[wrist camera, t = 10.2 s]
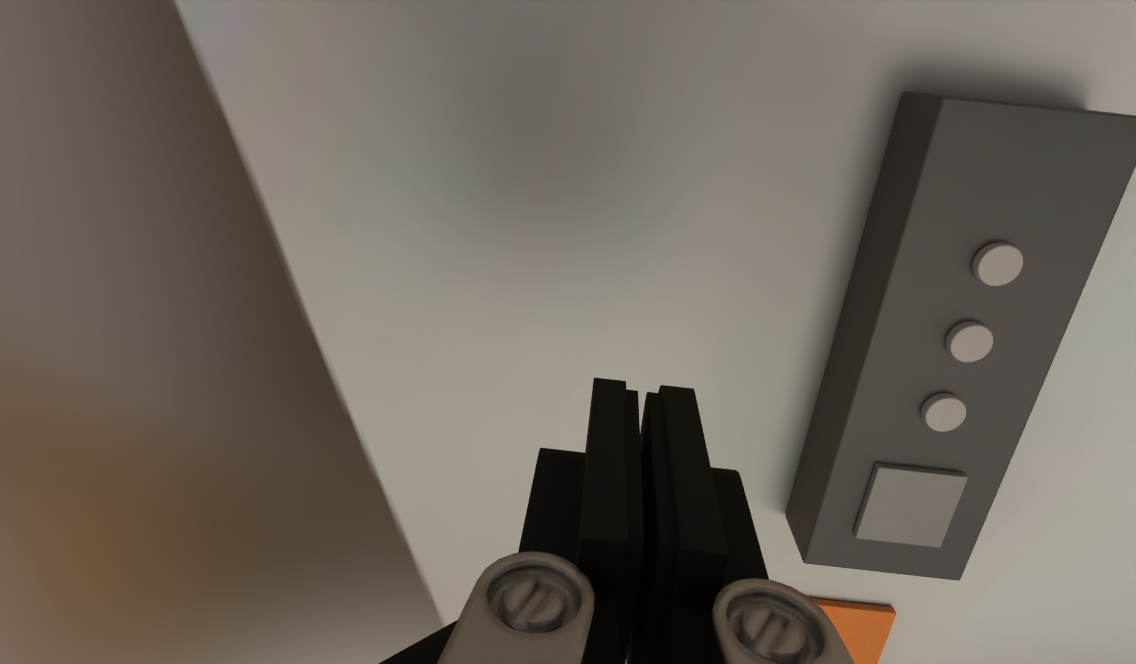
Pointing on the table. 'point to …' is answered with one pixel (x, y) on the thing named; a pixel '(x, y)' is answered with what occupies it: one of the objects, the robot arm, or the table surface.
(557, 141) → the table surface
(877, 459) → the remote
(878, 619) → the tiles
